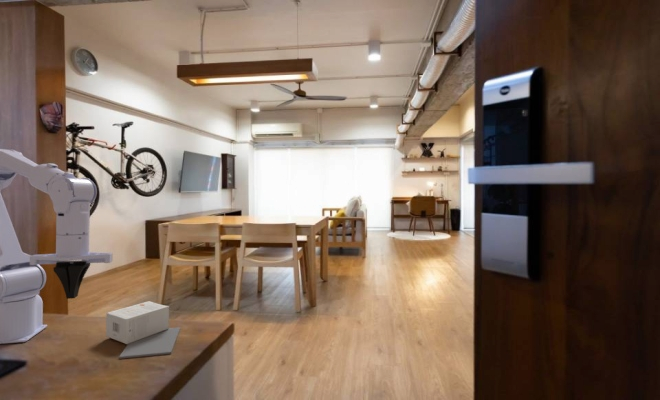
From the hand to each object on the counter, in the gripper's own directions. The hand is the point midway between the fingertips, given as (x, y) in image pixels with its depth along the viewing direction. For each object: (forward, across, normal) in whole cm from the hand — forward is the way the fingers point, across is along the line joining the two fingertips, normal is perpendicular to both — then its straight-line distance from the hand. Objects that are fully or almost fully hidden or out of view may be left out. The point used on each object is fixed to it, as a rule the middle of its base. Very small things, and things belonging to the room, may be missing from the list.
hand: (72, 297), depth 74 cm
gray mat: (+10, +16, -2) cm, 19 cm away
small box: (+7, +8, 0) cm, 11 cm away
